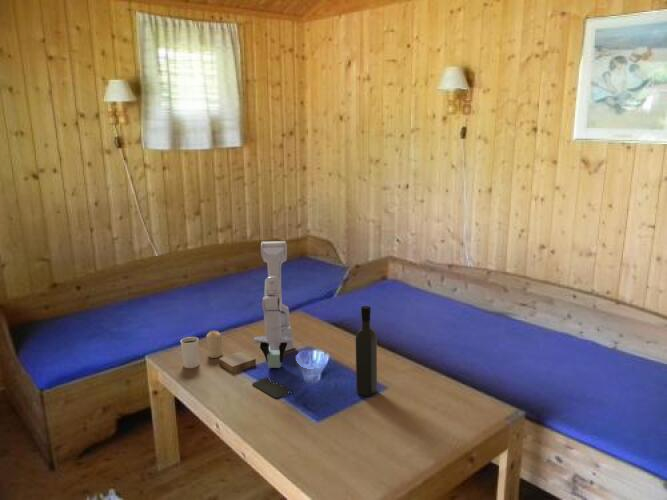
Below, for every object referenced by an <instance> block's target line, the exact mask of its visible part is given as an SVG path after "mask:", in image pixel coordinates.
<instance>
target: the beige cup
mask: <svg viewBox="0 0 667 500" xmlns="http://www.w3.org/2000/svg"><path fill="white" fill-rule="evenodd" d="M199 343H200V340H199V338H198V337H196V336H187V337H184V338H182V339H181V340H180V345H181V346H180V347H181V355H182V362H183V367H184V368H185V369H194V368H197V367H198V366H199V365H200V347H199V345H200V344H199Z"/></svg>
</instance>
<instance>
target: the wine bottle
mask: <svg viewBox="0 0 667 500" xmlns="http://www.w3.org/2000/svg"><path fill="white" fill-rule="evenodd" d="M360 310H361V313H360V314H361V328H360V329H359V330H358V331H357V333H356V336H355V380H356V381H355V383H356V389H355V390H356V394H357V395H361V396H364V397H368V398H369V397H373V395H375V393H377V392H378V354H377V353H378V351H377V350H378V349H377V348H378V345H377V343H378V341H377V340H378V338H377V337H378V336H377V333H376V332H375V331H374V329H373V328H371V312H372V311H371V306H369V305H365V306H361V307H360Z"/></svg>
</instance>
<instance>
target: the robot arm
mask: <svg viewBox="0 0 667 500" xmlns="http://www.w3.org/2000/svg"><path fill="white" fill-rule="evenodd" d="M287 248H288V247H287V241H286V240H281V241H279V240H278V241H276V240H275V241H264V240H263V241H261V243H260V255H261V259H262V260H263V262H264V263H267V277H266V278H265V279H264V290H263V291H264V292H263V297H262V302H261V303H262V311H263V324H264V327H265V328H264V329H265V330H264V331H265V335H264V336H263V335H262V336H255V337H254V338H253V344H255V345H257V344H260V345H259V349H260V350H261V351H262V354H263V356H264V357H265V361H266V363H267V364H268V361H267V354H268V352H269V350H280V363H283V362H284V355H285V353H286V351H288V350H293V349H295V347H296V346H295V345H294V343H295V341H294V340H295V339H294V332H293V328H292V327H291V325H290V324H291V323H290V319H291V317H290V309H289V307H288V306H287V305H285V304H284V303H283V299H282V298H283V295H282V292H283V291H282V265H283V263H284V262H287V258H288V249H287Z"/></svg>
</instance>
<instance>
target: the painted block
mask: <svg viewBox="0 0 667 500" xmlns="http://www.w3.org/2000/svg"><path fill="white" fill-rule="evenodd" d="M267 361H268V363H267V368H269V369H270V368H271V369H272V368H273V369H277V368H278V369H281V366H282V363H283V362H282V363H280V350H269V352H268V354H267Z"/></svg>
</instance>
